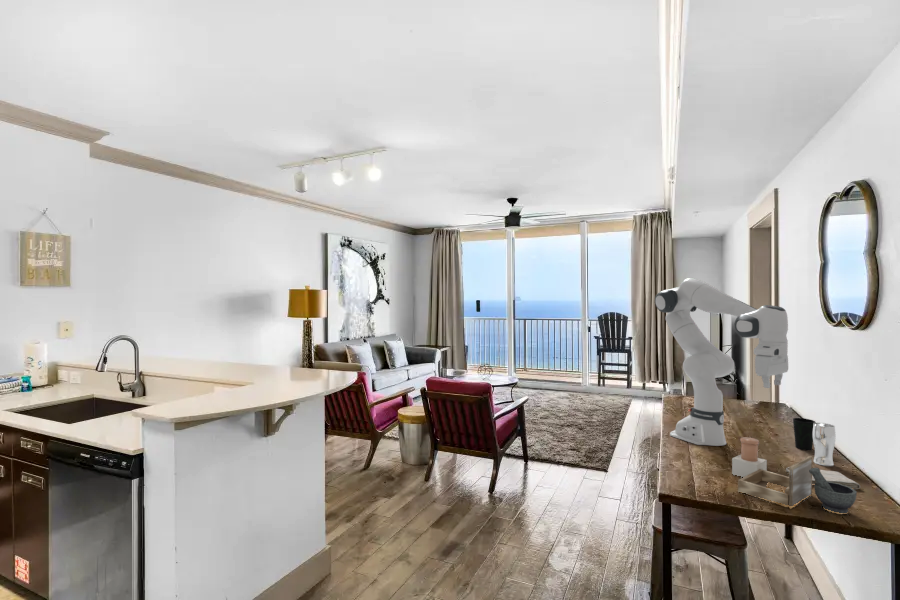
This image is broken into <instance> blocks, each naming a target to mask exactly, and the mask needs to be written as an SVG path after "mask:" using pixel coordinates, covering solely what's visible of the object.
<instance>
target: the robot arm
mask: <svg viewBox="0 0 900 600" xmlns="http://www.w3.org/2000/svg"><path fill="white" fill-rule="evenodd" d="M654 305H655V308H657V310H658V311H659V312H661V313H664V314H665V313H666V315H665V321H666V325H667V327H668V329H669V331H670V332H671V334H672V335H673V337H674V339H675V340H676V342H677V344H678V345H679V346H680V348H681V350H683V351H684V352H686V353H688V354H689V355H690V356H688V357H686V358H685V359H684V361H683V363H682V370H683V373H684V374H685V375H686V376H687V377H688V378H689V379H690V381H691V385H692V387H693V398H694V399H693V405H694V406H693V407H691V408H689V409H687V410H688V412H689V414H688V415H687V416H685V417H684V418H682V419H680V420H678V421H677V423H676V424H675V429H674V430H672V431H670V432H669V436H670V437H673V438H676V439H679V440H682V441H685V442H688V443H690V444H694V445H698V446H712V447H713V446H716V447H719V446H725V445H727V440H726V436H725V431H724V421H725V412H724V410H723V409H724V408H723V406H724V404H723V403H724V401H723V400H724V399H723V398H724V395H723V392H722V390H721V389H719V388H718V386H717V382H716V379H717V378H723V377H727V376H728V375H730V374H732V373H733V372H734V370H735V365H736V364H735V361H734V360H733V357H731V356H730V355H728V354H727V353H724V352H723V351H721V350H720V349H719V348H718V347H717V346H715V345H714V344H713V343H712V342H711V341H710V340H709V339H707V337H706V336H705V335H704V333H703V332H702V331H701V329H700V328H699V327H698V325H697V324H696V322H695V321H694V320H693V318H692V317H691V312H692V313H693V312H695V311H696V310H697V309H698V310H701V311H703V312H706V313H710V314H723V315H725V314H726V315H731V316H734V317H736V319H735V320H734V325H733V327H734V331H735V333H736V334H737V335H738V336H739V337H741V338H745V339H758V344H757V346H756V347H755V348H754V349H753V354H754V355H755V356H754V369H755V370H754V371H755V374H756V376H759V377H761V379H762V385H763V386H762V387H763V388H765V389H770V388H771V381H770V379H771V377H772V376H775V377H774V379H773V384H774V386H781V384H782V379H783V376H784V375H783V374H785V373H788V371H789V358H788V357H789V355H788V347H789V346H788V345H789V343H788V341H789V340H788V338H787V337H788V336H787V334H788V330H789V320H788V318H789V317H788V313H787V310H786V309H785V308H783V307H782V306H778V305H772V304H771V305H770V304H769V305H768V304H765V305H762V306H761V305H760V307H759V308H758V309H757V308H756V307H754V306H751V305H749V304H747V303H745V302H743V301H742V300H739V299H736V298H735V297H733V296H730V295H728V294H727V293H725V292H723V291H722V290H719V289H718V288H716V287H715V286H713V285H711V284H709V283H707V282H705V281H703V280H701V279H698V278H693V277H690V278H685V279H683V281H682V282H681V283H680V285H679V286H677V287H673V288H670V289H664V290H660V291H659V292H657V294H656V295H655V297H654Z"/></svg>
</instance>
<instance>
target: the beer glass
mask: <svg viewBox="0 0 900 600" xmlns="http://www.w3.org/2000/svg"><path fill="white" fill-rule="evenodd" d="M812 436H813V447H814V457H813V463H814V464H816V465H820V466H823V467H834V461H833V460H834V459H833V453H834V449H835V445H836V440H837V439H836V426H835V425H834V424H830V423H825V422H816V423H813V433H812Z"/></svg>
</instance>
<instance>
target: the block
mask: <svg viewBox="0 0 900 600" xmlns="http://www.w3.org/2000/svg"><path fill="white" fill-rule="evenodd" d="M731 461H732V462H731V464H732V465H731V466H732V467H731V475H732V474H733V475H732V476H735V475H737V476H736V477H738V476H741V477H740V478H742V477H745V476H747V475H749V474H751V473H753V472H755V471H757V470H759V469H762V470H766V471H768V470H767V469H768V464H767V463H768V462H767V459H764V458H760V457H758V461H756V462H752V461H746V460H743V459H742V458H741V454H739V455H736V456H734V457H732V459H731Z"/></svg>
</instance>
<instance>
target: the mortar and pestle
mask: <svg viewBox="0 0 900 600" xmlns="http://www.w3.org/2000/svg"><path fill="white" fill-rule="evenodd" d="M820 470H821V469H820V468H819V467H812V469H810V470H809V472H810V473H811V474H812V475H813V477H814V479H815V481H816V483H815V485H814V488H813V489H814V492H815V493H814V494H815V496H816V498H817V500H819V501H820V502H821V507H822V506H823V507H824V508H825V509H828V510H831V511H834V512H839V513H847V512H848V513H849V509H850V508H851V507H852V506H853V505H854V504H855V502H856V501H857V496H858V495H857V494H858V491H856V489H852V488H851V487H848V486H845V485H842V484H839V483H833V482H827V481H826V479H825V478H824V477H823V475H822V474H821V472H820Z"/></svg>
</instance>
